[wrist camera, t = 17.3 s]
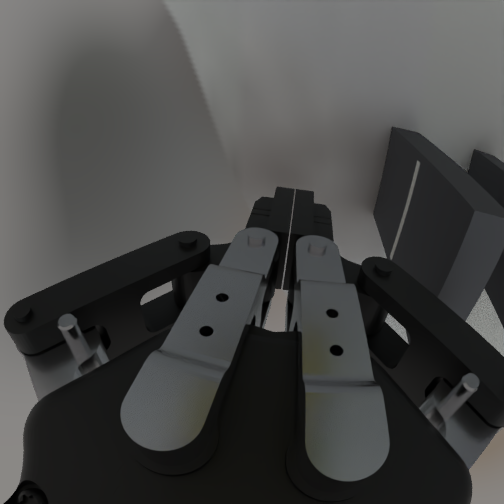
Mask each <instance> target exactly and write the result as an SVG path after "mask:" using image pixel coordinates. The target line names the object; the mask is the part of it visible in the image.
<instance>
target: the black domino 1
mask: <svg viewBox="0 0 504 504" xmlns="http://www.w3.org/2000/svg"><path fill="white" fill-rule="evenodd" d="M373 215H374V218H375V221H376V224H377V227H378V230H379V233H380V237H381V240H382V243H383V246H384V249H385V253H386V256H387V259H388V260H391V261H392V262H394V263H395V264H397V265H398V266H399V267H401V268H402V269H403V270H404V271H406V272H407V273H408V274H409V275H411V276H412V277H413V278H414V279H416V280H417V281H418V282H419V283H421V284H422V285H423V286H424V287H425V288H427V289H428V290H429V291H430V292H431V293H433V294H434V295H435V296H436V297H437V298H439V299H440V300H441V301H442V302H443V303H445V304H446V305H447V306H448V307H449V308H450V309H452V310H453V311H454V312H455V313H456V314H457V315H458V316H460V317H461V318H462V319H463V320H464V321H466V319H467V317H468V316H469V314H470V312H471V311H472V309H473V307H474V306H475V304H476V302H477V300H478V299H479V297H480V295H481V293H482V291H483V289H484V288H485V286H486V284H487V282H488V280H489V278H490V276H491V274H492V272H493V270H494V268H495V266H496V264H497V262H498V260H499V258H500V256H501V254H502V252H503V250H504V208H503V207H502V206H501V205H500V204H499V203H498V202H497V201H496V200H495V199H494V198H493V197H492V196H491V195H490V194H489V193H488V192H487V191H486V190H485V189H484V188H483V187H482V186H481V185H480V184H478V183H477V182H476V181H475V180H474V179H473V178H472V177H471V176H470V175H469V174H468V173H467V172H465V171H464V170H463V169H462V168H461V167H460V166H459V165H458V164H456V163H455V162H454V161H453V160H452V159H451V158H449V157H448V156H447V155H446V154H445V153H444V152H442V151H441V150H440V149H439V148H437V147H436V146H435V145H434V144H432V143H431V142H430V141H429V140H427V139H426V138H425V137H424V136H422V135H421V134H420V133H416V132H412V131H408V130H404V129H400V128H396V127H392V131H391V136H390V142H389V147H388V152H387V157H386V162H385V166H384V171H383V176H382V180H381V185H380V189H379V193H378V197H377V202H376V206H375V210H374V214H373ZM406 333H407V338H408V343H409V345H410V335H409V333H408V331H407V330H406Z"/></svg>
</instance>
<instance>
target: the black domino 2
mask: <svg viewBox="0 0 504 504" xmlns="http://www.w3.org/2000/svg"><path fill="white" fill-rule="evenodd" d="M468 174H469V175H470V176H471V177H472V178H473V179H474V180H475V181H476V182H477V183H478V184H480V185H481V186H482V187H483V188H484V189H485V190H486V191H487V192H488V193H489V194H490V195H491V196H492V197H493V198H494V199H495V200H496V201H497V202H498V203H499V204H500V205H501V206H502V207H503V208H504V163H503V162H502V161H500V160H499V159H497V158H496V157H495V156H492V155H490V154H487V153H484V152H481V151H478V150H475V149H474V152H473V156H472V160H471V163H470V167H469V171H468ZM484 289H485V290H486V292H487V294H488V296H489V298H490V300H491V302H492V304H493V306H494V308H495V310H496V313H497V315H498V317H499V319H500V321H501V323H502V326H503V328H504V250H503V252H502V254H501V256H500V258H499V260H498V262H497V264H496V266H495V268H494V270H493V272H492V274H491V276H490V278H489V280H488V282H487V284H486V286H485V288H484Z"/></svg>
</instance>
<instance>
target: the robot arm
mask: <svg viewBox="0 0 504 504" xmlns="http://www.w3.org/2000/svg"><path fill="white" fill-rule="evenodd" d="M293 197H294V189H291V188H283V187H277V188H276V192H275V196H274V198H270V197H261V198H260V199H258V200H257V201H255V204H254V207H253V209H252V212H251V215H250V217H249V220H248V223H247V225H246V228H245V229H244V230H241V231H239V232H238V233H237V234H236V235H235V237H234V239H233V241H232V242H231V243H228V244H220V245H210V239H209V238H208V237H207V236H206V235H205V234H203V233H200V232H197V231H183V232H179V233H176V234H174V235H171V236H169V237H166V238H164V239H161V240H159V241H156V242H154V243H151V244H149V245H146V246H144V247H141V248H139V249H137V250H134V251H132V252H129V253H127V254H124V255H122V256H120V257H117V258H115V259H112V260H110V261H108V262H105V263H103V264H101V265H98V266H96V267H94V268H92V269H89V270H87V271H85V272H82V273H80V274H77V275H75V276H73V277H71V278H68V279H66V280H64V281H62V282H60V283H57V284H55V285H53V286H51V287H48V288H46V289H44V290H42V291H39V292H37V293H35V294H33V295H31V296H29V297H26V298H24V299H22V300H20V301H18V302H17V303H15V304H14V305H13V306H12V307H11V308H10V309H9V310H8V311H7V313H6V315H5V318H4V326H5V328H6V330H7V332H8V333H9V335H10V336H11V338H12V340H13V341H14V343H15V344H16V347H17V349H18V351H19V352H20V354H21V355H22V357H23V358H24V359H25V361H26V364H27V368H28V371H29V374H30V377H31V381H32V383H33V387H34V390H35V392H36V395H37V398H38V401H39V402H38V403H37V404H36V405H35V406H34V407H33V409H32V411H31V412H30V414H29V416H28V418H27V420H26V423H25V428H24V435H23V436H24V437H23V442H24V443H23V446H24V454H23V467H22V473H21V479H20V483H19V485H18V487H17V489H16V491H15V492H14V493H13V495H12V496H11V497H10V498H9V499H8V500H7V501H6V502H5V503H4V504H470V502H471V497H472V481H471V476H470V473H469V469H470V468H471V466H472V465H473V464H474V463H475V461H476V460H477V459H478V457H479V456H480V455H481V454H482V452H483V451H484V450H485V448H486V447H487V445H488V444H489V443H490V441H491V440H492V439H493V437H494V436H495V434H496V433H497V432H499V431H500V430H501V429H502V428H504V357H503V356H502V355H501V354H500V353H499V352H498V351H497V350H496V349H495V348H494V347H493V346H492V345H491V344H490V343H489V342H487V341H486V340H485V339H484V338H483V337H482V336H481V335H480V334H479V333H478V332H476V331H475V330H474V329H473V328H472V327H471V326H470V325H469V324H468V323H466V322H465V321H464V320H463V319H462V318H461V317H460V316H458V315H457V314H456V313H455V312H454V311H453V310H452V309H450V308H449V307H448V306H447V305H446V304H445V303H443V302H442V301H441V300H440V299H439V298H437V297H436V296H435V295H434V294H433V293H431V292H430V291H429V290H428V289H427V288H425V287H424V286H423V285H422V284H421V283H419V282H418V281H417V280H416V279H414V278H413V277H412V276H411V275H409V274H408V273H407V272H406V271H404V270H403V269H402V268H401V267H399V266H398V265H397V264H395V263H394V262H392V261H391V260H388V259H386V258H382V257H369V258H366V259H365V260H364V261H363V262H362V265H358V264H356V263H353V262H350V261H348V260H346V259H344V258H343V257H341V256H340V253H339V249H338V246H337V245H336V244H335V243H334V242H333V230H332V220H331V211H330V210H329V209H328V208H327V207H326V205H322V204H315V203H314V192H313V191H306V190H299V189H296V194H295V202H294V210H293V218H292V226H291V233H290V241H289V248H288V256H287V263H286V270H285V277H284V284H283V290H288V297H287V304H286V321H285V332H272V331H269V330H266V329H264V326H265V323H266V320H267V316H268V313H269V309H270V306H271V300H272V297H273V296H274V292H275V289H281V285H282V278H283V272H284V265H285V258H286V251H287V244H288V237H289V229H290V222H291V214H292V206H293ZM169 281H172V288H173V290H172V291H170V292H168V293H166V294H164V295H162V296H160V297H158V298H156V299H154V300H151V301H150V302H147V303H145V304H144V305H141V306H140V301H141V299H142V297H143V295H144V294H145V293H147V292H148V291H150V290H152V289H155V288H157V287H159V286H161V285H163V284H165V283H167V282H169ZM388 313H389V314H390V315H391V316H392V317H394V318H395V319H396V320H397V321H398V322H399V323H400V324H401V325H402V326H403V327H404V328H405V329H406V330H407V331H408V333H409V335H410V345H409V344H408V343H406V342H405V341H404V340H403V339H402V338H401V337H400V336H399V335H398V334H397V333H396V332H395V331H394V330H393V329H392V328H391V327H390V326H389V325H388V324H387V323H386V322H385V319H386V317H387V315H388Z"/></svg>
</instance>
